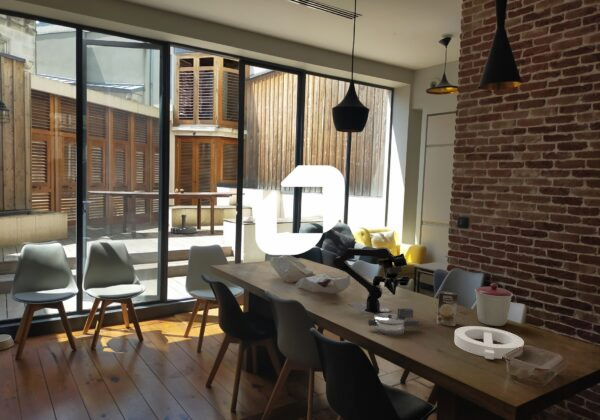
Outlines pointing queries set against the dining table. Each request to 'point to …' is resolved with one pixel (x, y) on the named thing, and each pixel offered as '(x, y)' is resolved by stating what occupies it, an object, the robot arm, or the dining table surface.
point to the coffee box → (447, 308)
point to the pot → (391, 327)
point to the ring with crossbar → (486, 341)
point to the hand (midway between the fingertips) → (394, 294)
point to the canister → (493, 305)
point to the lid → (394, 316)
